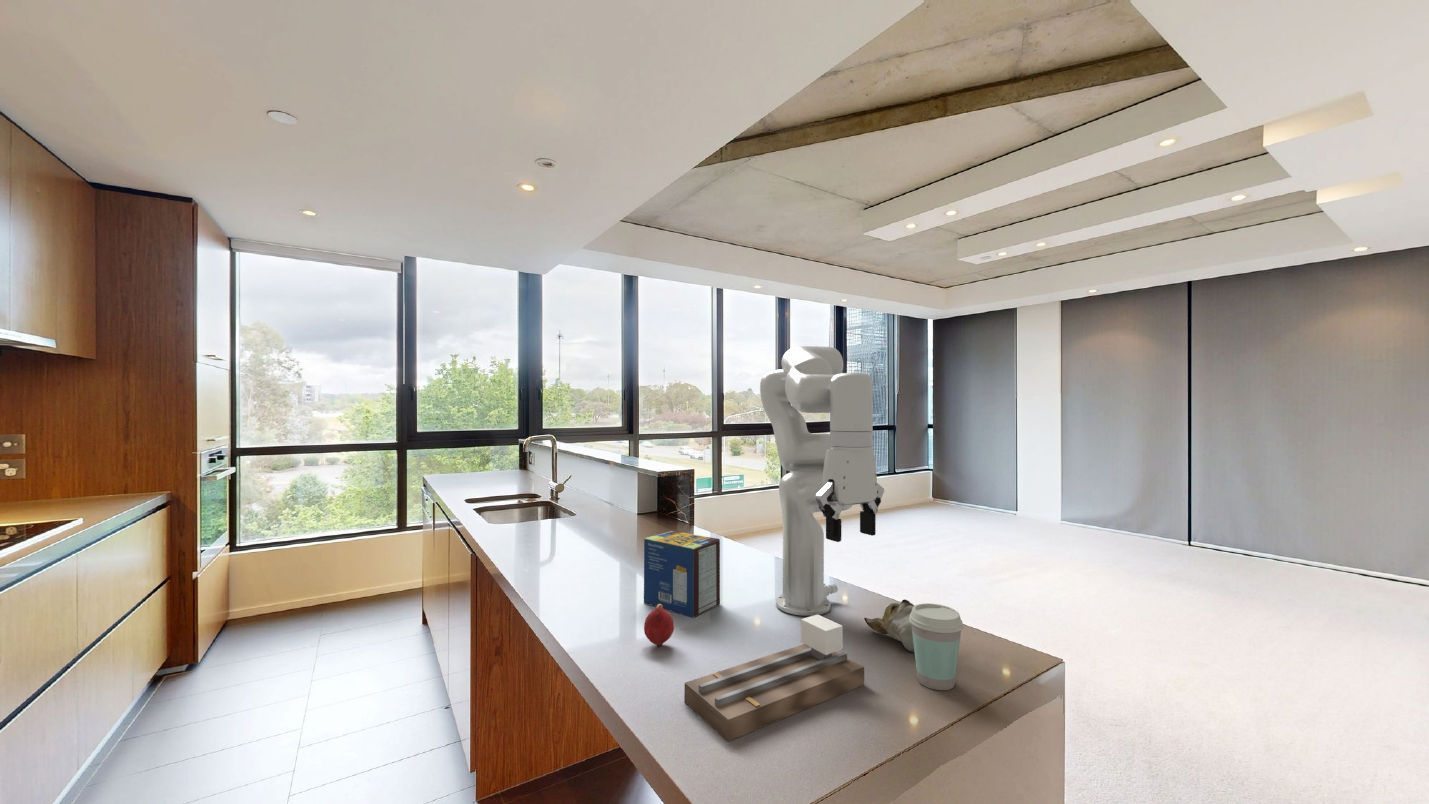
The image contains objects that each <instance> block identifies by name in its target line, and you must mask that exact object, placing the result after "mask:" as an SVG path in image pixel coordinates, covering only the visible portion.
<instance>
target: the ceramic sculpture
mask: <svg viewBox="0 0 1429 804" xmlns="http://www.w3.org/2000/svg"><path fill="white" fill-rule="evenodd" d="M914 606H915V604H914V603H912V602H910V601H909V600H908V599H902V600H901V602H892V603H890V604H889V605H888V606H886V607H885V610H884V611H883V616H882V617H881V618H880V617H875V618H868V617H864V618H863V619H864V621H865V623H866V625H867V626H868V627H869V628H870V629H871V630H873V631H874V632H875V633H878V634H881V635H888V636H889V637H891V638H892V639H894V640H896V641H898V642H900V643H901V644H902V645H903V647H904V648H905V649H906V650H907V651H909V652H912V653H915V652H914V643H913V634H912V625H911V622H910V621H909V617H910V613H911V612H912V608H913V607H914Z"/></svg>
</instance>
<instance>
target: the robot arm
mask: <svg viewBox="0 0 1429 804" xmlns="http://www.w3.org/2000/svg"><path fill="white" fill-rule="evenodd" d="M780 362H781V363H780V364H781V369H773V370H769V371H768V372H765V373H764V374H763V375H762V377H761V379H760V383H759V393H760V394H759V395H760V401H761V403H762V408H763V409H764V412H765V414H766V416H767V417H768V419H769V422H770V424H771V427H772V429H773V435H774V440H775V444H776V449H777V456H778V460H779V462H780V465H781V468H783V469H784V470H786V471H787V472H788V473H786V474H784V475H783V476H782V477H781V478H780V480H779V484H778V493H779V500H780V506H781V514H782V516H781V517H782V594H781V595H779V596H777V597H776V599H775V606H776V607H777V608H778V610H780V611H782V612H784V613H787V614H791V615H795V616H804V617H810V616H814V615H817V614H818V615H820V616H821V615H823V614H826V613H828V612H829V611H830V610H831V607H832V606H831V601H830V599H828V598H827V597H828V596H829V595H830V594H831V595H832V594H834V593H835V594H836V593H837V592H838V590H839V588H838V585H836V584H835V583H834V584H829V585H826V584H825V583H824V580H825V579H824V578H825V577H824V576H825V575H824V574H825V569H824V568H825V567H824V566H825V565H824V563H825V558H824V557H825V538H826V540H830V541H832V542H836V543H840V542H841V541H842V519H841V518H840V515H841V513H842V512H845V511H847V510H850V509H851V508H852V507H853V506H854V505H860V506H859V507H860V508H861V511H859V532H860V534H863V535H869V536H876V531H877V530H876V525H877V524H876V521H877V520H876V514H877V513H879V512H878V511H879V506H880V504H881V502H882V498H883V495H884V493H885V488H884V487H883V486H882V485H881V484H880V483H878V476H877V473H878V472H877V465H876V464H877V463H876V457H875V451H874V448H873V440H874V436H873V430H874V429H873V427H874V426H873V423H874V419H873V414H874V413H873V404H874V403H873V402H874V401H873V400H874V398H873V393H874V392H873V390H874V389H873V388H874V386H873V379H872V377H871V375H869V374H868V373H859V372H843V371H844V359H843V356H842V354H841V352H840V351H839V350H838V349H837V348H835V347H831V346H817V345H816V346H815V345H814V346H812V345H811V346H810V345H809V346H807V345H806V346H805V345H799V346H793V347H790V348H789V349H788V350H786V352H784V354H783V356H782V358H781V361H780ZM800 412H801V413H807V414H823V413H824V414H825V413H826V414H829V430H830V431H829V433H812V432H809V430H808V427H807V421H806V419H805V417H804V416H803V414H801V413H800ZM819 512H821V513H822V515H823V516H822V517H824V518H825V532H824V529H823V527H822V525H821V523H820V522H819V521H818V520H817V519H816V518H815V516H814V513H819ZM824 533H825V534H824Z"/></svg>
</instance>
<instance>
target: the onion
mask: <svg viewBox="0 0 1429 804" xmlns="http://www.w3.org/2000/svg"><path fill="white" fill-rule="evenodd" d="M674 623H675V622H674V619H673V617H672V615H671V613H669V612H668V610H665V609H663V605H662V604H658V605H657V607H656V606H655V609H653V610H652V611H650V612H649V614H648V615H647V616H646V618H645V620H644V624H643V625H644V626H643V627H644V628H643V631H644V635H645V637H646V639H647V640H648V641H649V642H650V643H652V644H653V645H656V646H657V647H660V646H662V645H664V644H665V643H666V642H667V641H668V640H669V639H670V638H671V637H672V635H673V633H674V631H675V630H674V629H675V624H674Z"/></svg>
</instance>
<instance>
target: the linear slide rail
mask: <svg viewBox="0 0 1429 804" xmlns="http://www.w3.org/2000/svg"><path fill="white" fill-rule="evenodd" d="M864 685H865V666H863V665H862V664H860V663H858V662H856V661H854V660H852V659H850V658H848V653H846V652H844V651H842V652H837V651H836V652H833V653H832V656H831V657H828V658H825V659H822V660H819V659H817V658H815V657H813V656H812V655H811V647H810V646H808V645H806V644H804V643H802V644H800V645H797V646H794V647H791V648H788V649H784V650H781V651H778V652H775V653H772V654H769V655H765V656H763V657H760V658H757V659H753V660H751V661H747V662H745V663H741V664H738V665H735V666H732V667H728V668H726V669H725V668H724V669H723V670H719V671H717V672H713V673H710V674H708V675H704V676H701V677H698V678H695V679H692V680H689V681H686V682H684V699H683V700H684V703H685V704H686V705H687V706H689V707H690V708H691V710H693V711H694V712H695V713H696V714H697V715H699V717H700V718H702V719H703V720H704V721H705V722H706V723H707V724H708V725H710V727H712V728H713V729H714V730H715V731H716V732H717V733H718V734H720V735H721V736H722V737H723V738H724V740H726V741H728V742H730V741H732V740H735V739H737V738H739V737H742V736H744V735H746V734H749V733H751V732H755V731H756V730H759V729H761V728H764V727H767V726H768V725H771V724H773V723H775V722H778V721H780V720H783V719H785V718H787V717H791V716H792V715H795V714H797V713H799V712H802V711H805V710H807V709H809V708H812V707H814V706H817V705H818V704H821V703H823V702H826V701H829V700H831V699H833V698H835V697H838V696H841V695H843V694H845V693H847V692H850V691H853V690H855V689H857V688H860V687H862V686H864Z"/></svg>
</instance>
